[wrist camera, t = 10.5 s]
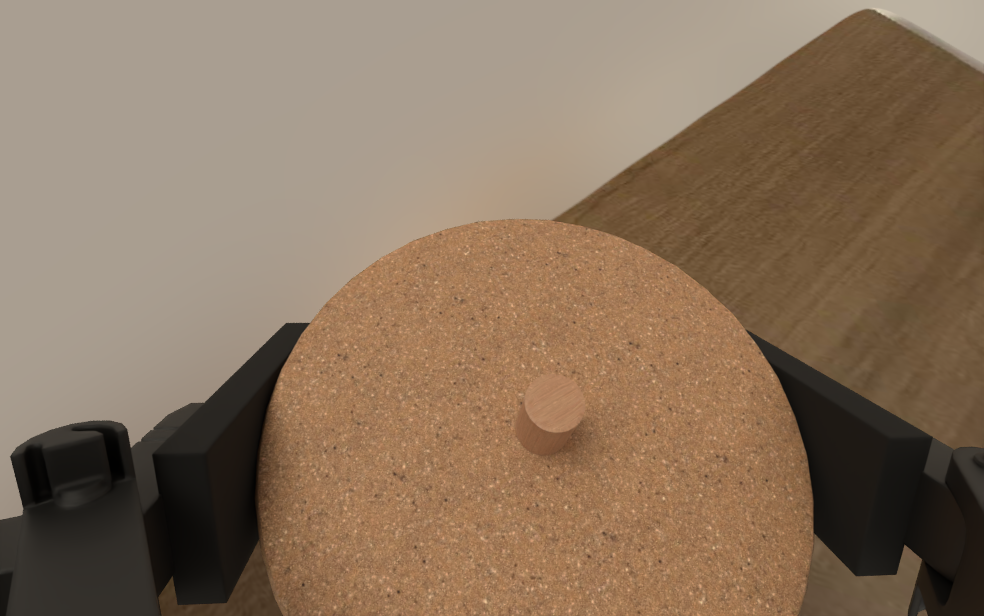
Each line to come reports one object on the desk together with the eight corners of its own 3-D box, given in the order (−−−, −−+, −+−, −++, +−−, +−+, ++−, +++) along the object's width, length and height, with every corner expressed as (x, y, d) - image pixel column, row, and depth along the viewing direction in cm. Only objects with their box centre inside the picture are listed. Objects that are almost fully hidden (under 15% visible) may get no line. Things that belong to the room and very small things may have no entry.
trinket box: (742, 562, 17) (1023, 516, 8) (441, 811, 13) (422, 1134, 5) (547, 303, 21) (608, 106, 13) (281, 444, 17) (131, 298, 9)
